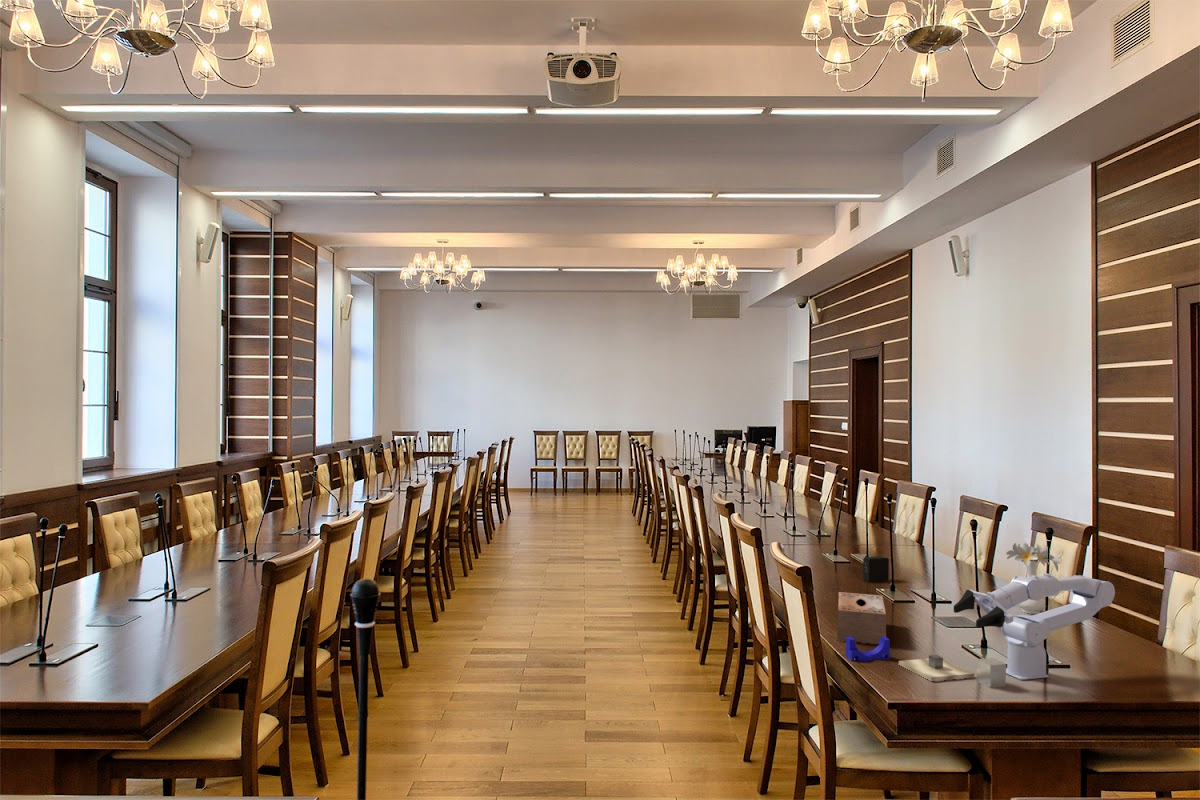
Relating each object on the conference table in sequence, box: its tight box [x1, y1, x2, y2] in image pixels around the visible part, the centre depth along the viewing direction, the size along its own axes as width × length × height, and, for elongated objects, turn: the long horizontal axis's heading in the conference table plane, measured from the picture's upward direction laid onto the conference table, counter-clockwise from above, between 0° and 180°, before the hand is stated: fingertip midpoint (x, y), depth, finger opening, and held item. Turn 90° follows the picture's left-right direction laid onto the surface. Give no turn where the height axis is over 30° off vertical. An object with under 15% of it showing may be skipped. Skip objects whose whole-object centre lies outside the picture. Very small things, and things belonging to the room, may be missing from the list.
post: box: [928, 654, 944, 669], centre depth 221 cm, size 3×3×3 cm
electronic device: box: [862, 555, 890, 583], centre depth 336 cm, size 4×10×10 cm, turn 107°
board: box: [898, 657, 975, 682], centre depth 221 cm, size 14×14×1 cm
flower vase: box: [1006, 542, 1063, 615], centre depth 287 cm, size 13×18×25 cm
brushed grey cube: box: [976, 657, 1007, 689], centre depth 211 cm, size 5×5×6 cm
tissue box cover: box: [837, 591, 887, 645], centre depth 259 cm, size 26×14×10 cm, turn 163°
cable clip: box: [845, 636, 891, 662], centre depth 231 cm, size 12×4×6 cm, turn 92°
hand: (965, 616), depth 212 cm, fingers open, 7 cm apart
